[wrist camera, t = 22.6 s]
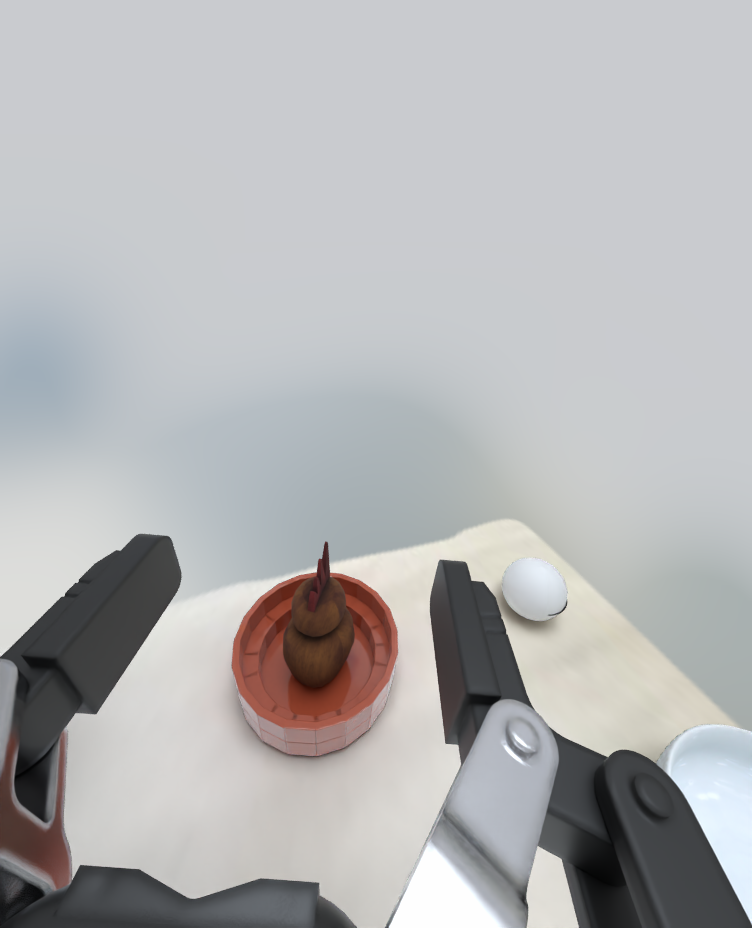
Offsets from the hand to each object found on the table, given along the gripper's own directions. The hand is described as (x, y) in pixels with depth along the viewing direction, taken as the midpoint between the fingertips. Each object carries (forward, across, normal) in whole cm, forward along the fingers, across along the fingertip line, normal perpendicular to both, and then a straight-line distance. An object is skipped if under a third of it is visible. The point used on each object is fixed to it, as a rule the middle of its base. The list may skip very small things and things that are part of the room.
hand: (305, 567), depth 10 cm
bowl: (+12, +2, +28) cm, 31 cm away
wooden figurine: (+12, +2, +27) cm, 30 cm away
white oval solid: (+22, -24, +28) cm, 43 cm away
